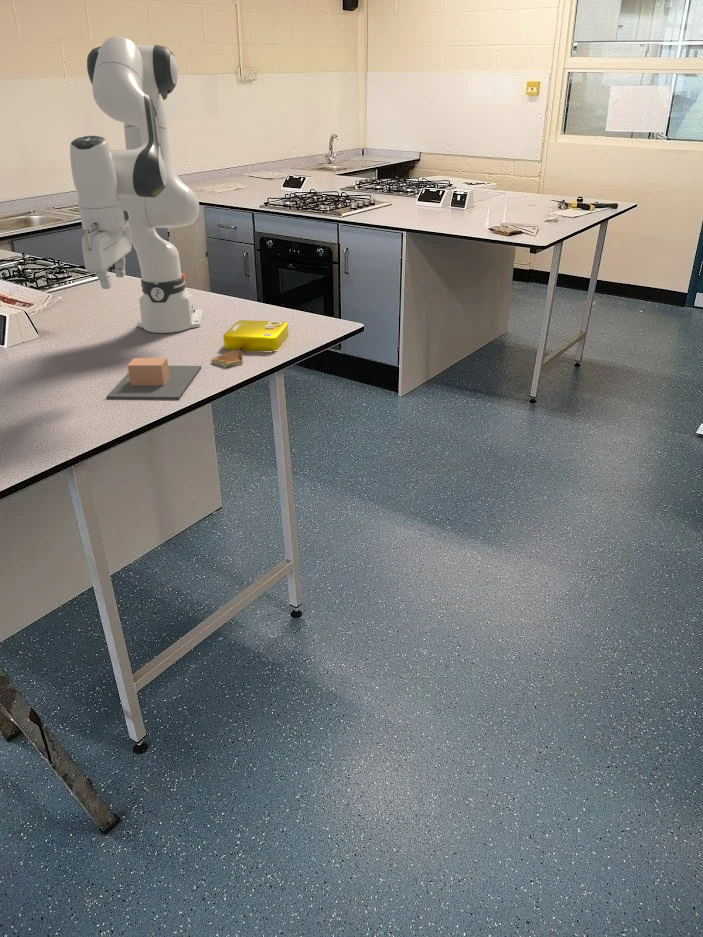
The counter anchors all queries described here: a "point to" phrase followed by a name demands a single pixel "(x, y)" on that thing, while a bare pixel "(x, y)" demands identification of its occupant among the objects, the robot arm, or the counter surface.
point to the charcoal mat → (170, 390)
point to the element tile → (256, 335)
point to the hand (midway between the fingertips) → (114, 282)
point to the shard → (229, 358)
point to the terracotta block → (148, 371)
